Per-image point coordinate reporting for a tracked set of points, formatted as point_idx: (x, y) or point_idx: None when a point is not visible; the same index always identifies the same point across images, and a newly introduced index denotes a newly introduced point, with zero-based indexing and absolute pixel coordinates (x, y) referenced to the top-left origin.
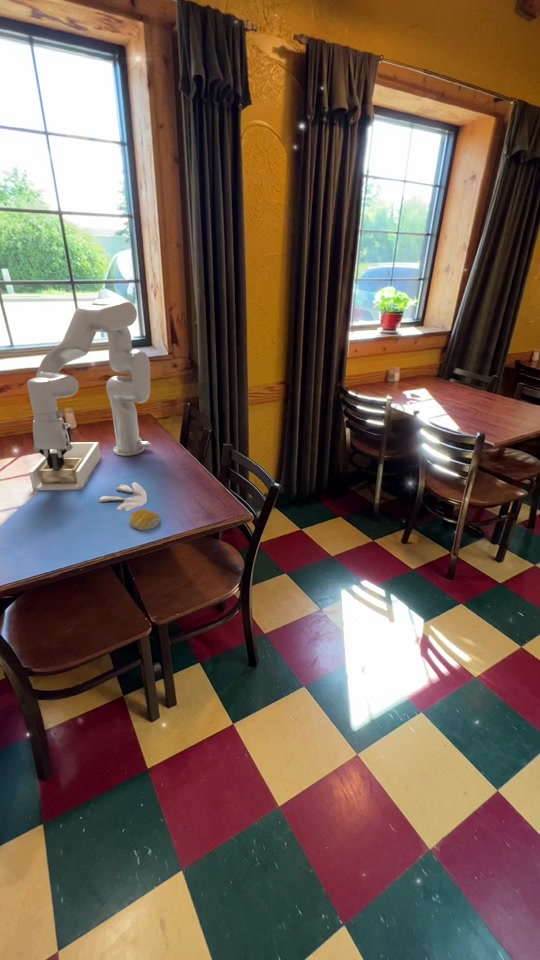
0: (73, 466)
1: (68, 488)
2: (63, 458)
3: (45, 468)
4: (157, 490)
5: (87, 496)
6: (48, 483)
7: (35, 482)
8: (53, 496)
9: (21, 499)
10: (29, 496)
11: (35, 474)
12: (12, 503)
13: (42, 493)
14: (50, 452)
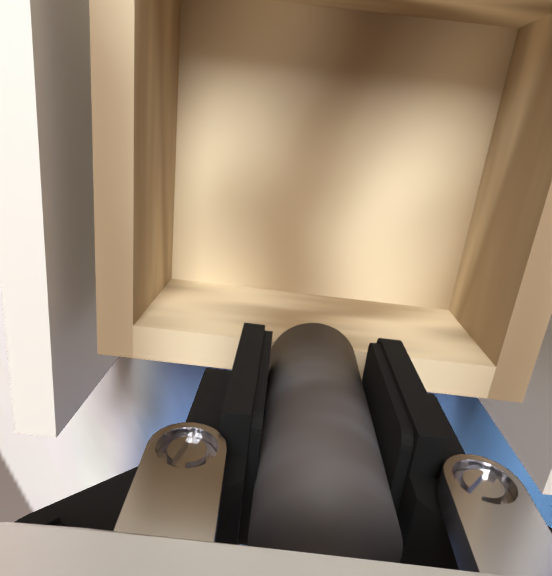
0: (437, 6)
1: None
2: (454, 452)
3: (141, 239)
4: None
5: (524, 484)
6: None
7: (109, 361)
8: None
9: (79, 450)
10: (116, 418)
11: (80, 361)
12: (45, 490)
13: (194, 389)
14: (224, 463)
